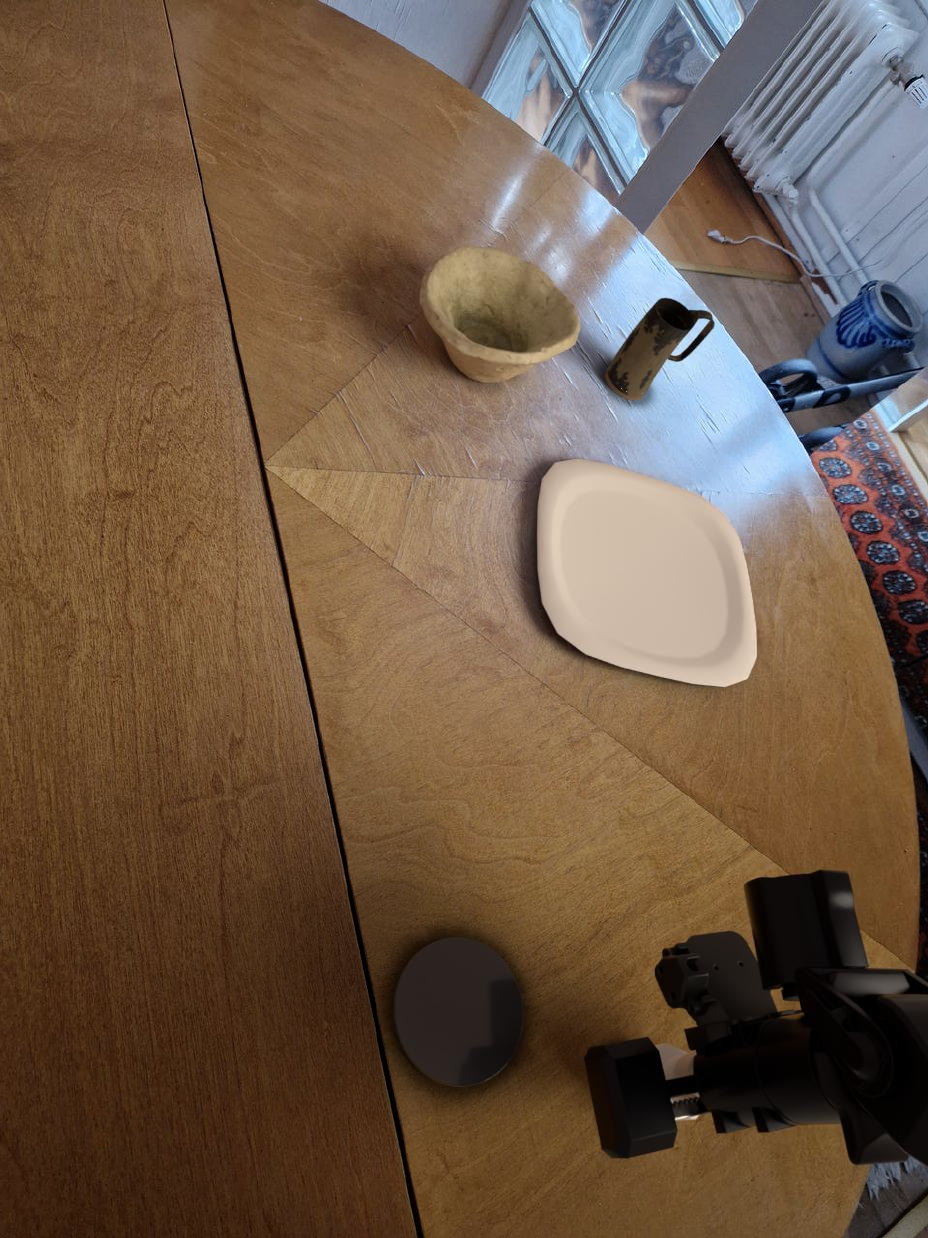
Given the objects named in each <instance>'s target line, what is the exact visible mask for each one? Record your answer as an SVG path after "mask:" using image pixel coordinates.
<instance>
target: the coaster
mask: <svg viewBox="0 0 928 1238" xmlns="http://www.w3.org/2000/svg"><path fill="white" fill-rule="evenodd" d="M519 986H520V985H519V983H518V981H517V979H516V977H515V974H514V972H513V971H512V969H511V967H510V966H509V965H508V963H507V962H506V961H505V960H504V958H503V957H501V956H500V955H499V954H498V952H496V951H495V950H494V949H493V948H491V947H489V946H488V945H487V944H485V943H483V942H481V941H479V940H475V939H472V938H467V937H462V936H452V937H445V938H441V939H438V940H435V941H433V942H431V943H429V944H427V945H425V946H423V948H421V949H420V950H418V951H417V952H416V953H415V954H414V955H413V956H412V957H411V958H410V959H409V961H408V962H407V963H406V964H405V966H404V968H403V969H402V971H401V973H400V976H399V977H398V981H397V983H396V987H395V991H394V995H393V1003H392V1005H393V1006H392V1015H393V1016H392V1017H393V1024H394V1030H395V1033H396V1037H397V1040H398V1042H399V1044H400V1046H401V1049H402V1051H403V1052H404V1054H405V1055H406V1057H407V1059H408V1060H409V1061H410V1062H411V1064H412V1065H413V1066H414V1067H415V1068H416V1069H417V1071H419V1072H420V1073H422V1075H424V1076H425V1077H426V1078H428V1079H430V1080H432V1081H434V1082H436V1083H438V1084H441V1085H443V1086H449V1087H453V1088H454V1087H455V1088H466V1087H471V1086H472V1087H473V1086H476V1085H477V1086H478V1085H480V1084H483V1083H485V1082H487V1081H489V1080H491V1079H492V1078H494V1077H495V1076H497V1075H498V1074H499V1073H500V1072H501V1071H503V1069H504V1068H505V1067H506V1066H507V1065H508V1063H510V1061H511V1060H512V1058H513V1056H514V1054H515V1053H516V1050H517V1048H518V1046H519V1044H520V1040H521V1037H522V1032H523V1027H524V1018H525V1017H524V1016H525V1015H524V1002H523V997H522V993H521V989H520V987H519Z"/></svg>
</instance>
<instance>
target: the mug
mask: <svg viewBox="0 0 928 1238" xmlns="http://www.w3.org/2000/svg"><path fill="white" fill-rule="evenodd" d="M703 319H704V320H708V322H707V324H706V325H705V326H704V327H703V329H702V330H701V331H700V332H699V333H698V335H697V336H696V337H695V338H694V339H693V340H692V341H691V343H690V344H689V345H688V346H687V347H686V348H685V349H684V350H683V351H682V352H681V353H680V354H677V355H673V354H672V353H673V352H674V351H675V350H676V348H677V347H678V346H679V345H680V343H681V342H682V341H683V340H684V339H685V338H686V336H687V335H688V334H689V333H690V332H691V330H692V329H693V328H694V327H695V325H696V324H697V322H698V320H703ZM715 325H716V323H715V321H714V319H713V314H712V313H711V312H710V311H708V310H704V309H689V308H687V306H685V305H684V304H682V302H680V301H678V300H676V299H673V298H670V297H660V298H659V299H658V300H657V301H656V302H655V303H654V304H653V305H652V306H651V307H650V308H649V310H648V311H647V312H646V313H645V314H644V316H643V317H642V318H641V319H640V320H639V322H638V323H637V324H636V325H635V327H634V328H633V329H632V331H631V332H630V334H629V335H628V336H627V337H626V339H625V340H624V341H623V343H622V345H621V346H620V348H619V349H618V350H617V352H616V354H615V355H614V357H613V359H612V360H611V362H610V364H609V365H608V367H607V369H606V370H605V373H604V378H605V381H606V384H607V385H608V387H609V389H611V390H612V392H614V393H615V394H616V395H617V396H619V397H621V398H623V399H625V400H629V401H639V400H641V399H643V398H644V396H646V394H647V392H648V390H649V388H650V387H651V385H652V383H653V381H654V380H655V378H656V377H657V375H658V373H659V372H660V371H661V369H663V368H662V367H663V366H664V365H665V363H666V362H667V361H671V362H675V363H679V362H683V361H684V360H685V359H687V358H688V357H689V356H690V355H691V354H692V353H693V352H694V351H695V350H696V349H697V348H698V347H699V346H700V345H701V344H702V342H703V341H704V340H705V339H706V338H707V337H708V335H710V333H711V332H712V331H713V329H715ZM621 388H622V389H621ZM626 391H627V392H626ZM645 391H646V392H645ZM644 392H645V393H644ZM641 393H643V394H641Z"/></svg>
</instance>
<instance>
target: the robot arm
mask: <svg viewBox="0 0 928 1238" xmlns="http://www.w3.org/2000/svg"><path fill="white" fill-rule="evenodd" d="M743 893H744V896H745V902H746V903H745V904H746V907H747V913H748V918H749V923H750V930H751V933H752V935H751V936H752V940H753V945H754V949H755V954H754V952H753V951H752V948H751V947H750V945H749V943H748V942H747V939H746V938H744V936H742V935H741V934H740V933H738V932H737V931H734V930H724V931H716V932H708V933H699V934H694V935H693V934H692V935H691V936H689V937H688V938H687V940H685V941H683V942H676V943H675V944H674V946H671V947H664V948H662V951H661V959H659V961H658V962H657V964H655V966H654V978H655V981H656V982H657V985H658V987H659V990H660V992H661V994H662V996H663V998H664V1001H665V1003H666V1005H667V1006H668V1007H669V1008H671V1009H673V1010H677V1009H683V1010H685V1011H686V1013H687V1014H688V1015H689V1017H691V1019H692V1020H693V1021H694V1022H695V1024H696V1026H692V1027H687V1028H684V1029H683V1032H684V1036H685V1039H686V1044H687V1047H688V1050H689V1051H695V1052H696V1055H695V1056H694V1060H693V1074H691V1075H686V1076H681V1077H677V1078H672V1079H667V1080H666V1078H665V1074H664V1069H663V1065H662V1061H661V1056H660V1052H659V1050H658V1049H657V1047H656V1046H655V1045H656V1044H655V1043H654V1042H653V1041H652V1040H651V1038H650V1037H649V1036H644V1037H643V1036H642V1037H638V1038H632V1039H625V1040H621V1041H616V1042H610V1043H604V1044H600V1045H593V1046H589V1047H588V1048H587V1050H586V1052H585V1054H584V1056H583V1062H584V1063H583V1064H584V1069H585V1073H586V1078H587V1082H588V1083H587V1084H588V1088H589V1092H590V1097H591V1103H592V1108H593V1113H594V1118H595V1123H596V1128H597V1134H598V1138H599V1143H600V1149H601V1150H602V1152H604V1154H606V1155H607V1156H608V1157H609V1158H611V1159H616V1160H617V1159H621V1160H622V1159H624V1160H625V1159H632V1158H636V1157H640V1156H645V1155H648V1154H649V1155H650V1154H652V1153H657V1152H661V1151H665V1150H670V1149H674V1147H675V1144H676V1140H677V1136H678V1131H679V1129H678V1125H677V1121H680V1120H679V1119H684V1118H688V1117H693V1116H697V1115H699V1116H701V1115H705V1114H710V1113H711V1118H712V1120H713V1126H714V1130H715V1133H716V1135H718V1134H719V1135H720V1134H728V1133H729V1134H730V1133H734V1132H738V1131H742V1130H746V1129H750V1128H753V1127H756V1128H755V1129H756V1130H757V1133H758V1134H763V1133H765V1134H767V1133H773V1132H777V1131H781V1130H785V1129H789V1128H793V1127H798V1126H821V1125H824V1126H825V1125H841V1129H842V1134H843V1139H844V1143H845V1144H844V1145H845V1148H846V1149H845V1150H846V1154H847V1157H848V1160H849V1161H850V1163H851V1164H852V1165H853V1166H866V1165H867V1166H869V1165H881V1164H883V1165H884V1164H897V1163H905V1162H908V1160H909V1159H910V1157H911V1158H912V1159H913V1160H915V1161H917V1162H918V1163H920V1164H921V1165H923V1166H925V1167H926V1168H928V981H926V980H925V979H923V978H922V977H920V976H918V975H916V973H914V972H912V970H909V969H907V968H886V967H885V968H883V967H882V968H881V967H880V968H878V967H870V965H869V961H868V957H867V953H866V948H865V945H864V941H863V937H862V932H861V929H860V924H859V921H858V917H857V914H856V908H855V897H854V895H855V894H854V890H853V886H852V882H851V878H850V873H848V872H847V871H846V870H835V869H833V870H832V869H821V868H820V869H818V870H815V871H812V872H809V873H795V874H787V875H779V876H774V877H772V876H758V877H755V878H753V879H750V880H748V881H746V882H745V883H744V884H743ZM755 955H756V956H755ZM780 989H781V990H780ZM774 990H780V992H781V997H782V1001H784V1002H799V1006H800V1009H794V1008H791V1009H786V1010H780V1011H778V1008H777V1006H776V1003H775V1000H774V998H773V996H772V993H771V991H774ZM694 1093H698V1094H699V1098H698V1097H694V1099H693V1098H689V1100H688V1099H684V1101H683V1100H678V1101H673V1103H672V1102H671V1099H670V1098H675V1097H680V1096H684V1095H689V1094H694ZM675 1120H677V1121H675Z"/></svg>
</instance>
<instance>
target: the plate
mask: <svg viewBox="0 0 928 1238" xmlns="http://www.w3.org/2000/svg"><path fill="white" fill-rule="evenodd" d="M748 569H749V568H748V564H747V560H746V556H745V553H744V550H743V546H742V541H741V538H740V535H739V534H738V532H737V530H735V528H734V526H733V524H732V522H731V521H730V520H729V518H728V516H727V515H726V513H725V512H724V511H722V510H721V509H720V508H719V507H717V506H716V505H715V504H713V503H712V502H710V501H709V500H708V499H707V498H705V497H704V496H702V495H701V494H698V493H696V492H694V491H692V490H689V489H687V488H684V487H682V486H680V485H678V484H675V483H673V482H668V481H666V480H662V479H658V478H656V477H653V476H650V475H647V474H643V473H640V472H637V471H634V470H630V469H627V468H624V467H620V466H616V465H613V464H610V463H604V462H601V461H600V462H599V461H594V460H589V459H586V458H585V459H584V458H574V459H567V460H560V461H554V463H553V464H552V465H551V467H550V469H548V470H547V472H546V473H545V474H544V476H543V477H542V478H541V480H540V485H539V492H538V498H537V505H536V573H537V581H538V589H539V596H540V603H541V604H540V605H541V606H542V608H543V611H544V612H545V614H546V616H547V618H548V620H549V622H550V624H551V627H552V628H553V630H554V632H555V634H556V635H557V636H558V637H560V638H562V640H564V641H565V642H567V643H568V644H569V645H571V646H572V647H573V648H575V649H576V650H577V651H578V652H580V653H581V654H583V655H584V656H587V657H589V658H592V659H595V660H598V661H601V662H603V663H606V664H609V665H611V666H614V667H617V668H620V669H624V670H628V671H631V672H635V673H640V674H644V675H646V676H647V675H648V676H651V677H655V678H656V677H657V678H661V679H665V680H670V681H674V682H679V683H682V684H683V683H684V684H687V685H693V686H702V687H703V686H704V687H712V688H720V689H721V688H722V689H724V688H727V687H729V686H732V685H736V684H738V683H742V682H744V681H747V680H748V679H749V677H750V675H751V672H752V670H753V667H754V666H755V664H756V661H757V658H758V648H757V646H758V644H757V642H758V641H757V623H756V622H757V621H756V616H755V615H756V614H755V607H754V601H753V594H752V593H753V592H752V588H751V582H750V581H751V580H750V575H749V570H748Z"/></svg>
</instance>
